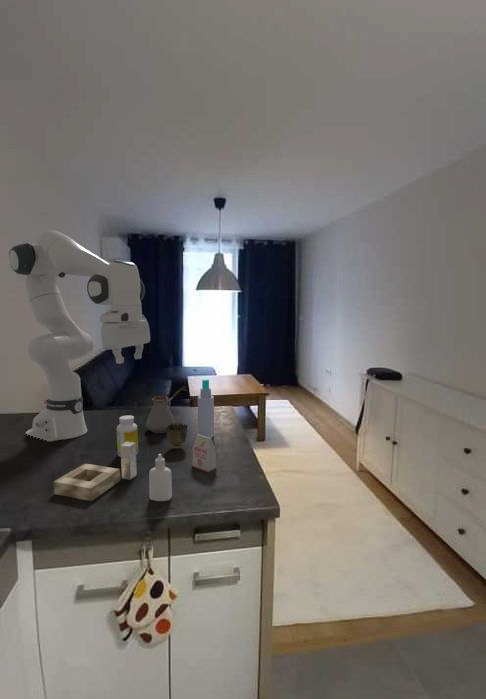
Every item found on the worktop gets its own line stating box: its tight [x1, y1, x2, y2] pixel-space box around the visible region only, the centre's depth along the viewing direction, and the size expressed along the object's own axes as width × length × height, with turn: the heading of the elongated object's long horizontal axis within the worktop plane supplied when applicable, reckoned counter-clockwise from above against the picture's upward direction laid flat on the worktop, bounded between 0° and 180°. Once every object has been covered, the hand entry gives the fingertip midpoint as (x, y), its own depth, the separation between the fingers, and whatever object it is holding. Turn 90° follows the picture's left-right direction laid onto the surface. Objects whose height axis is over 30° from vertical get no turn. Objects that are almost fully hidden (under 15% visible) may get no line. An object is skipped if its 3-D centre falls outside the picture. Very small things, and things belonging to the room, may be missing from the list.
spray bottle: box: [197, 378, 215, 439], centre depth 145 cm, size 6×6×22 cm
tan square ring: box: [53, 463, 121, 502], centre depth 106 cm, size 12×12×4 cm
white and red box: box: [191, 433, 217, 473], centre depth 119 cm, size 4×7×10 cm, turn 52°
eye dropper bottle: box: [148, 453, 173, 502], centre depth 100 cm, size 4×6×12 cm
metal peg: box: [120, 442, 138, 480], centre depth 112 cm, size 3×3×10 cm
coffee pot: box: [145, 385, 188, 434], centre depth 157 cm, size 21×12×15 cm, turn 150°
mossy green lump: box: [165, 422, 188, 451], centre depth 134 cm, size 8×7×8 cm
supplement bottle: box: [116, 415, 139, 458], centre depth 128 cm, size 7×7×13 cm
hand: (129, 361), depth 117 cm, fingers open, 8 cm apart
